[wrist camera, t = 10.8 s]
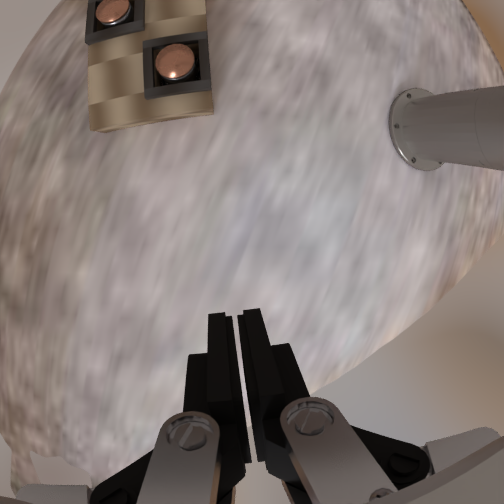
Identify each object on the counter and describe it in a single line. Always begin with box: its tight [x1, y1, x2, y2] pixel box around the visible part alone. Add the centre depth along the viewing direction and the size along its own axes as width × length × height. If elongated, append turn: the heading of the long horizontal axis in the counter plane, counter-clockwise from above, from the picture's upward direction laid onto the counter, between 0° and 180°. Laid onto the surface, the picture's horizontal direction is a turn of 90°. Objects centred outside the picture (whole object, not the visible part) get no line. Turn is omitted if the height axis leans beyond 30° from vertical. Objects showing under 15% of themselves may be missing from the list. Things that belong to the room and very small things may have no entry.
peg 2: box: [155, 44, 198, 85], centre depth 28 cm, size 4×4×7 cm
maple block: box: [85, 0, 213, 133], centre depth 27 cm, size 14×20×6 cm
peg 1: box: [96, 0, 134, 29], centre depth 25 cm, size 4×4×7 cm
